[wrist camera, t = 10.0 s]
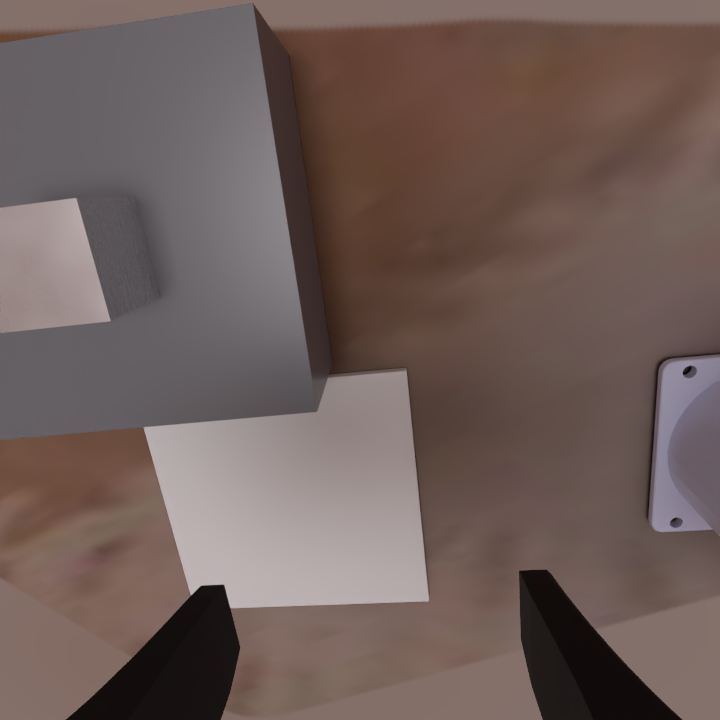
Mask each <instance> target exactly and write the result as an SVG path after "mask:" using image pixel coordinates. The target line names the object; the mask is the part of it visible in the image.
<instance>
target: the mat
mask: <svg viewBox="0 0 720 720" xmlns="http://www.w3.org/2000/svg"><path fill="white" fill-rule="evenodd" d="M144 431H145V434H146V438H147V441H148V445H149V448H150V452H151V455H152V459H153V463H154V466H155V470H156V473H157V477H158V480H159V484H160V487H161V491H162V495H163V498H164V502H165V505H166V509H167V512H168V516H169V519H170V523H171V526H172V530H173V534H174V537H175V541H176V544H177V548H178V551H179V555H180V558H181V562H182V566H183V569H184V573H185V576H186V580H187V583H188V587H189V590H190V594H191V595H192V594H193V593H194V592H195V591H196V590H197V589H198V588H199V587H200V586H202V585H224V586H225V590H226V594H227V598H228V602H229V605H230V608H249V607H278V606H306V605H335V604H363V603H391V602H420V601H429V594H428V584H427V574H426V564H425V553H424V543H423V533H422V522H421V512H420V502H419V492H418V481H417V471H416V461H415V451H414V440H413V430H412V420H411V410H410V399H409V389H408V379H407V369H406V368H396V369H385V370H374V371H362V372H351V373H339V374H329V376H328V379H327V382H326V385H325V388H324V392H323V395H322V398H321V401H320V404H319V408H318V411H317V412H310V413H299V414H288V415H277V416H265V417H254V418H243V419H231V420H220V421H209V422H197V423H186V424H175V425H164V426H152V427H144Z"/></svg>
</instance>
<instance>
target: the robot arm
mask: <svg viewBox="0 0 720 720" xmlns="http://www.w3.org/2000/svg"><path fill="white" fill-rule="evenodd" d="M687 366H691V371H690V372H689V373H688V374H685V375H683V370H684V369H685V368H686V367H687ZM673 518H677V520H676V521H674V522H670V521H671V520H672V519H673ZM648 520H649V523H650V525H651V526H652V527H653V528H654V530H656V531H658V532H677V531H698V530H714V531H715V532H716V533H717V534H718V535H719V537H720V354H717V355H705V356H694V357H682V358H672V359H668V360H666V361H665V362H663V363H662V364H661V366H660V368H659V371H658V385H657V400H656V414H655V429H654V443H653V458H652V473H651V487H650V502H649V516H648ZM519 581H520V619H521V641H522V645H523V650H524V654H525V658H526V663H527V667H528V672H529V676H530V680H531V684H532V688H533V691H534V694H535V697H536V700H537V703H538V706H539V709H540V712H541V715H542V718H543V720H682V719H681V718H680V717H679V716H678V715H676V714H675V713H674V712H673V711H672V710H671V709H670V708H669V707H668V706H667V705H666V704H665V703H664V702H663V701H662V700H661V699H660V698H659V697H657V695H655V694H654V692H652V691H651V690H650V689H649V688H648V687H647V686H646V685H645V684H644V683H643V682H642V681H641V679H640V678H639V677H638V676H637V675H636V674H635V673H634V672H633V671H632V670H631V669H630V668H629V667H628V666H627V665H626V664H625V663H624V662H623V661H622V660H621V658H620V657H619V656H618V655H617V654H616V653H615V652H614V651H613V650H612V649H611V647H610V646H609V645H608V644H607V643H606V642H605V641H604V639H603V638H602V637H601V636H600V635H599V634H598V633H597V631H596V630H595V629H594V628H593V627H592V626H591V625H590V623H589V622H588V621H587V620H586V619H585V617H584V616H583V615H582V614H581V612H580V611H579V610H578V609H577V607H576V606H575V605H574V604H573V603H572V601H571V600H570V599H569V597H568V596H567V595H566V594H565V592H564V591H563V590H562V588H561V587H560V586H559V584H558V583H557V582H556V580H555V579H554V577H553V576H552V575H551V573H549V572H548V571H547V570H527V571H519ZM239 651H240V645H239V641H238V637H237V633H236V629H235V625H234V621H233V617H232V613H231V609H230V605H229V602H228V598H227V594H226V590H225V586H224V585H202V586H200V587H199V588H198V589H197V590H196V591H195V592H194V593H193V594H192V595H191V596H190V597H189V599H188V600H187V601H186V602H185V603H184V604H183V605H182V606H181V607H180V608H179V609H178V610H177V611H176V613H175V614H174V615H173V616H172V617H171V618H170V619H169V620H168V621H167V622H166V623H165V624H164V625H163V626H162V628H161V629H160V630H159V631H158V632H157V633H156V634H155V635H154V636H153V637H152V638H151V639H150V640H149V641H148V642H147V643H146V644H145V645H144V646H143V647H142V649H141V650H140V651H139V652H138V653H137V654H136V655H135V656H134V657H133V658H132V659H131V660H130V661H129V662H128V663H127V664H126V665H125V666H123V667H122V669H120V670H119V671H118V672H117V673H116V674H115V675H114V676H113V677H112V678H111V679H110V680H109V681H108V682H107V683H106V684H105V685H104V686H103V687H102V688H101V689H100V690H99V691H98V692H97V693H96V694H95V695H93V696H92V698H90V699H89V700H88V701H87V702H86V703H85V704H84V705H82V706H81V707H80V708H79V709H78V710H77V711H76V712H74V713H73V714H72V715H71V716H70V717H69V718H68V719H66V720H221V717H222V714H223V711H224V708H225V706H226V703H227V700H228V697H229V694H230V690H231V686H232V682H233V678H234V674H235V669H236V664H237V660H238V655H239Z"/></svg>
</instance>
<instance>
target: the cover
mask: <svg viewBox="0 0 720 720" xmlns="http://www.w3.org/2000/svg"><path fill="white" fill-rule="evenodd" d="M331 366H332V357H331V350H330V343H329V336H328V329H327V322H326V315H325V308H324V301H323V294H322V287H321V280H320V273H319V266H318V259H317V252H316V245H315V237H314V230H313V223H312V216H311V209H310V202H309V195H308V188H307V181H306V174H305V167H304V160H303V153H302V146H301V139H300V132H299V125H298V118H297V111H296V104H295V97H294V90H293V83H292V76H291V69H290V62H289V55H288V53H287V52H286V50H285V49H284V47H283V46H282V44H281V43H280V42H279V40H278V39H277V37H276V36H275V34H274V33H273V31H272V30H271V29H270V27H269V26H268V24H267V23H266V21H265V20H264V18H263V17H262V16H261V14H260V13H259V11H258V10H257V8H256V7H255V6H254V4H253V3H251V4H245V5H238V6H232V7H225V8H219V9H213V10H206V11H200V12H194V13H188V14H182V15H175V16H169V17H162V18H156V19H150V20H144V21H137V22H131V23H125V24H118V25H112V26H106V27H99V28H93V29H87V30H81V31H74V32H68V33H62V34H55V35H49V36H43V37H37V38H30V39H24V40H18V41H11V42H5V43H0V440H5V439H17V438H28V437H39V436H51V435H62V434H73V433H85V432H96V431H107V430H118V429H130V428H141V427H152V426H164V425H175V424H186V423H197V422H209V421H220V420H231V419H243V418H254V417H265V416H277V415H288V414H299V413H310V412H317V411H318V408H319V404H320V401H321V398H322V395H323V392H324V388H325V385H326V382H327V379H328V376H329V372H330V369H331Z"/></svg>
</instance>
